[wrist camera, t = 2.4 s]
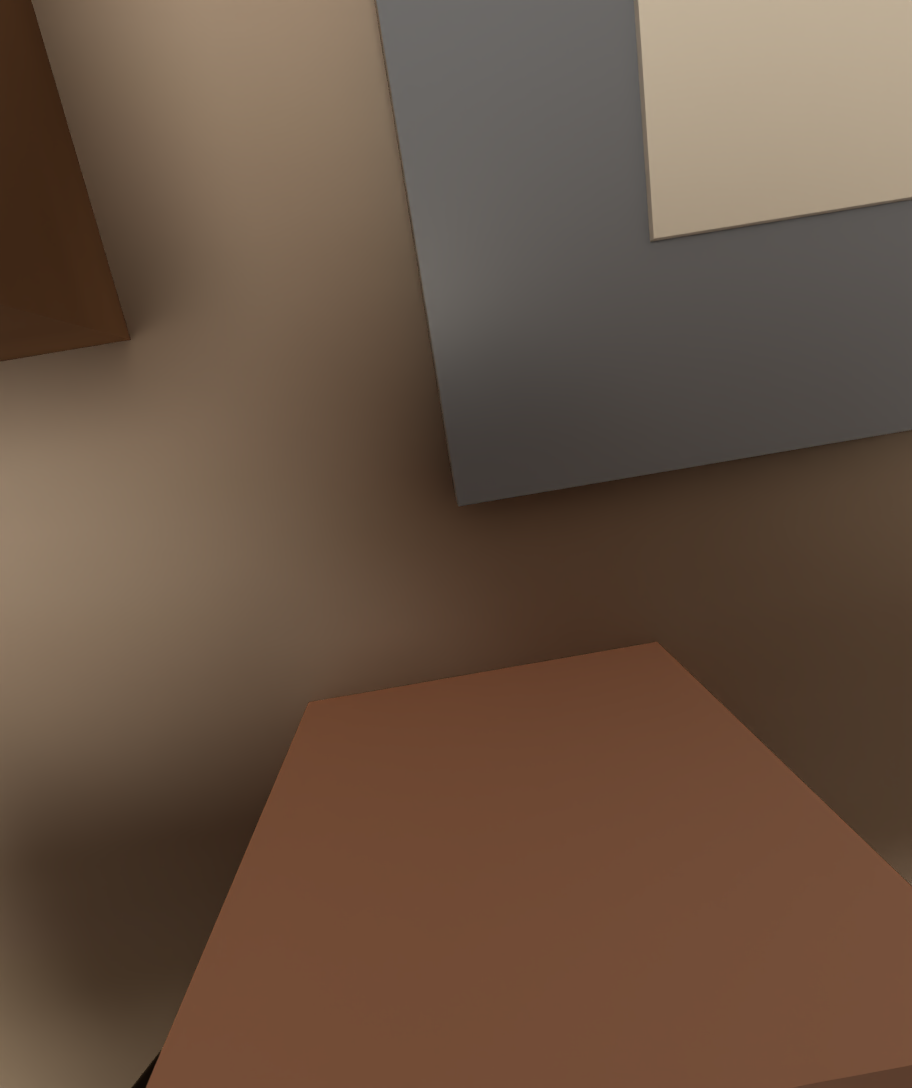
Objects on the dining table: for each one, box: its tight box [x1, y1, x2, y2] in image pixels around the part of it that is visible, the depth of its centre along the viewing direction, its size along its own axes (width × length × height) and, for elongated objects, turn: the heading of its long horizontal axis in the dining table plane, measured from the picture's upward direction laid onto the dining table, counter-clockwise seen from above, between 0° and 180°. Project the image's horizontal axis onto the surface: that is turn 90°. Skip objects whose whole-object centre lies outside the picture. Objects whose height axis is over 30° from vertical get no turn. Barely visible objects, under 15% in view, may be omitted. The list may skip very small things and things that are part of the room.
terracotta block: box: [146, 642, 912, 1088], centre depth 6 cm, size 5×5×5 cm
